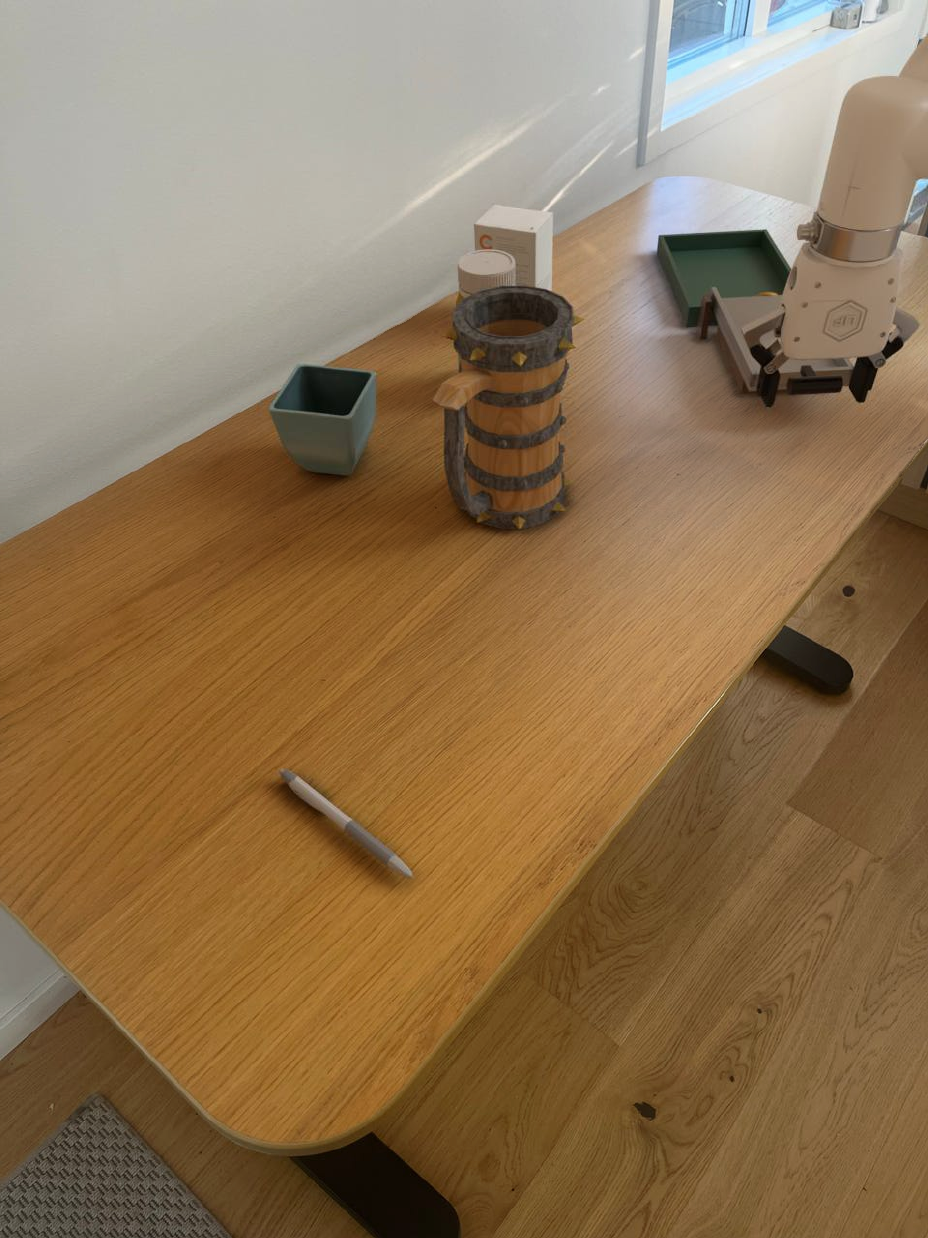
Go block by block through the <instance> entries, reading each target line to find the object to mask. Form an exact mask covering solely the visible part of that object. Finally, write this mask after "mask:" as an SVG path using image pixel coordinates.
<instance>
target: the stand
mask: <svg viewBox="0 0 928 1238" xmlns="http://www.w3.org/2000/svg"><path fill="white" fill-rule="evenodd" d="M711 306H712V300H711V298H710V296H709V294H702V300H701V307H700V313H699V320H698V326H696V334H697V337H698V338H699V340H707V337H708V330H709V326H708V325H709V319H710V313H711ZM715 338H716V340H717V342H718V345H719V347H720V349H721V351H722V353H723V355H724V358H725V360H726V362H727V364H728V367H729V370H730V372H731V373H732V376H733V378H734V380H735V383H736V385H737V387H738V389H739V391H740V394H757V392H756V391H749V390H748V388H747V386H746V384H745V381H744V379H743V377H742V375H741V373H740V371H739V368H738V366H737V364H736V362H735V360H734V357H733V355H732V353H731V351H730V349H729V346H728V344H727V342H726V340H725V338H724V336H723V333H722V331H721V329H720V327H719V325H717V328H716V335H715ZM779 392H781V393H782V392H787V389H786V390H777V393H779Z"/></svg>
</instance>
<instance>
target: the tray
mask: <svg viewBox="0 0 928 1238" xmlns="http://www.w3.org/2000/svg"><path fill="white" fill-rule="evenodd" d="M656 255H657V258H658V261H659V263H660V266H661V268H662V270H663V273H664V276H665V278H666V280H667V283H668V285H669V287H670V290H671V293H672V295H673V298H674V300H675V303H676V305H677V307H678V309H679V312H680V315H681V317H682V320H683V322H684V324H685V327H686V328H692V327H694V328H695V327H697V326H698V320H699V313H700V307H701V300H702V294H709V296H710V292H711V287H716V288H717V290H718V292H719V294H720V297H721V298H735V297H752V296H756V295H758V294H759V293H763V292H772V293H776V294H778V295H782V294H783V291H784V288H785V285H786V282H787V279H788V276H789V274H790V271H791V269H792V267H791V266H790V264H789V263H788V261H787V260H786V258H785V257H784V254H783V253H782V252H781V250H780V248H779V247H778V245H777V243H776V242H775V240H774V239H773V237H772V236H771V233H770V232H769V231H768V229H764V228H763V229H747V230H746V229H745V230H729V231H711V232H707V231H706V232H690V233H689V232H688V233H671V234H658V237H657V248H656ZM712 326H713V327H714V326H718V322H717V320H716V318H715V316H714V314H713V311H712V309H711V313H710V319H709V325H708V327H712Z"/></svg>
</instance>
